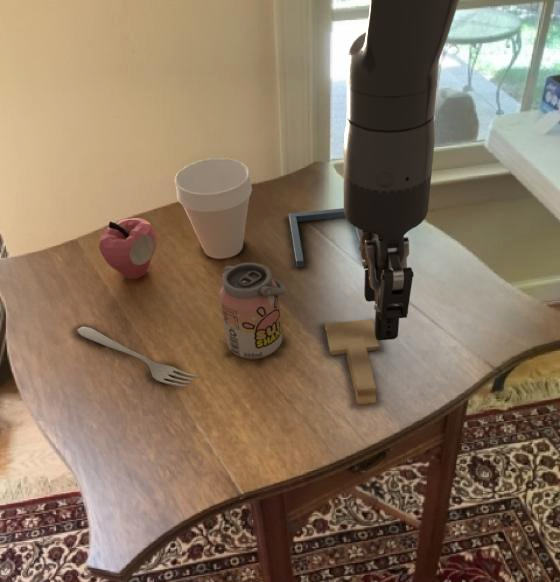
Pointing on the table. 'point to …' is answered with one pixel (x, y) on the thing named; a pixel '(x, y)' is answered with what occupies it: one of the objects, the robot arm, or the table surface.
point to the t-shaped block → (356, 353)
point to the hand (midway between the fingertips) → (380, 317)
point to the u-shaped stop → (309, 217)
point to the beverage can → (251, 310)
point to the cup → (216, 203)
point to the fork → (156, 369)
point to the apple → (129, 246)
